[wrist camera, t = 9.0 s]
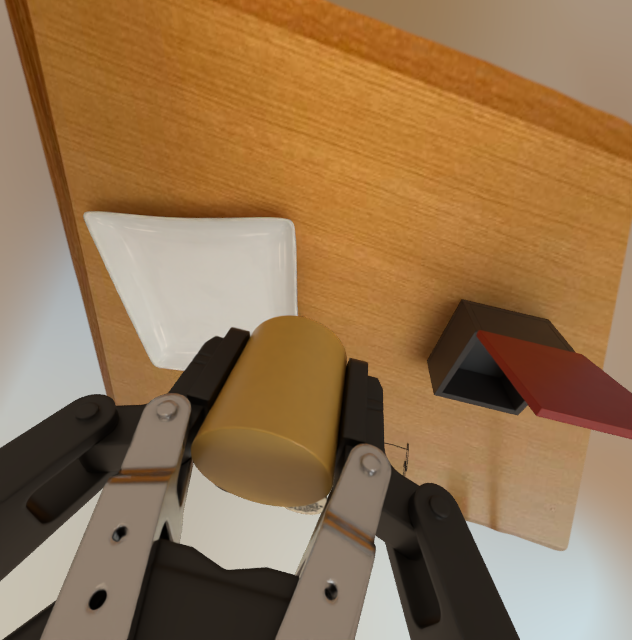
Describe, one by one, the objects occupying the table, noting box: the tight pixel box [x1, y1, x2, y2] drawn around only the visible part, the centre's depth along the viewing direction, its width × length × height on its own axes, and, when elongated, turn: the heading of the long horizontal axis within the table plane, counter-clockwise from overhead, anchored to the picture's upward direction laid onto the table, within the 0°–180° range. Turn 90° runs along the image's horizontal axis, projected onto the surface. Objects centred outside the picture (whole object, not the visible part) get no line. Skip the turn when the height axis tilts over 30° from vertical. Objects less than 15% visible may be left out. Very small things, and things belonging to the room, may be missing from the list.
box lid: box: [476, 330, 632, 439], centre depth 27 cm, size 13×12×1 cm
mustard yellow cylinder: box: [191, 315, 347, 507], centre depth 10 cm, size 4×4×5 cm
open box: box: [427, 299, 576, 415], centre depth 39 cm, size 12×12×7 cm
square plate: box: [83, 211, 298, 371], centre depth 44 cm, size 27×27×4 cm
